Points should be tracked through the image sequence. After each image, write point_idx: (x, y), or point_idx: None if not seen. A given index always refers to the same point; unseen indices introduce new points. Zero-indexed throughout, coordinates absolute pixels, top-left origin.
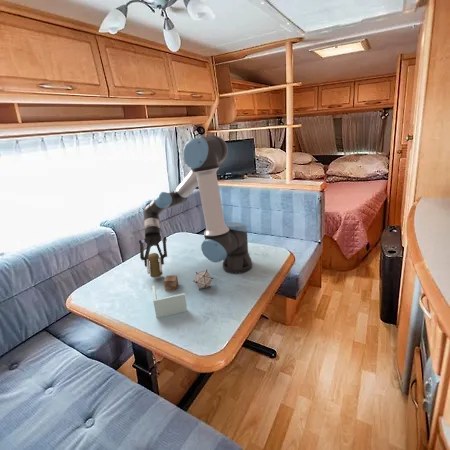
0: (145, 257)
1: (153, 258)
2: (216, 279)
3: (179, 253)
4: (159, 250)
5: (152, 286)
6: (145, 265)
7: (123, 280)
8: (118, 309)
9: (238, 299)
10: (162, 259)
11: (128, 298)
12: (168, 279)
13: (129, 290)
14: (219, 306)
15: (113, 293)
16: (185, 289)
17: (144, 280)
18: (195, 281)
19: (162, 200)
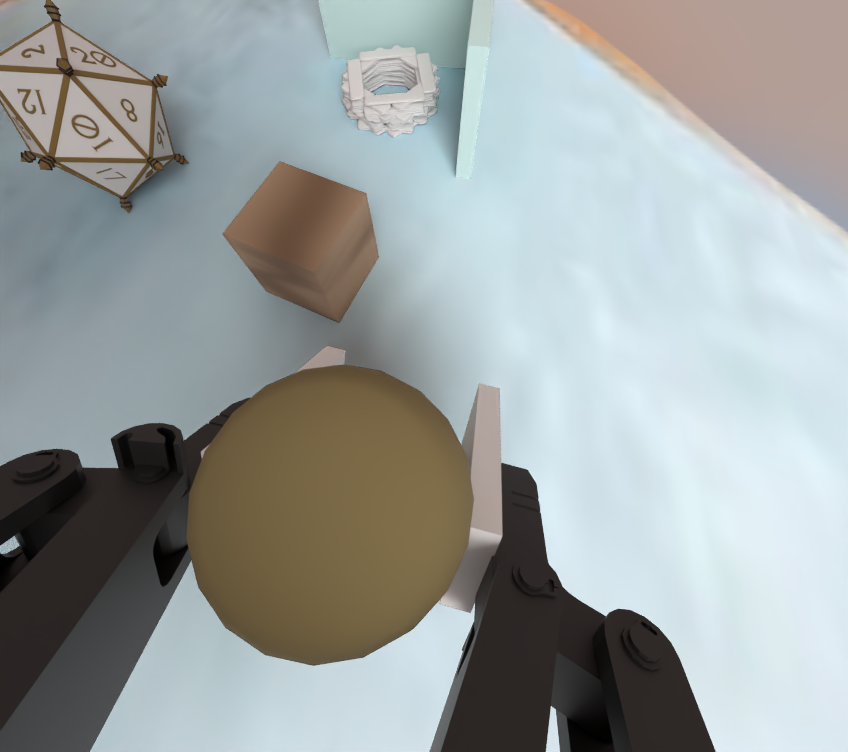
0: (530, 595)
1: (360, 370)
2: (11, 224)
3: None
4: (10, 644)
5: (486, 39)
6: (521, 474)
7: (743, 657)
8: (693, 199)
9: (81, 27)
10: (204, 439)
11: (643, 285)
12: (321, 199)
13: (648, 396)
14: (188, 22)
15: (784, 417)
16: None
17: None
18: (152, 119)
19: None
